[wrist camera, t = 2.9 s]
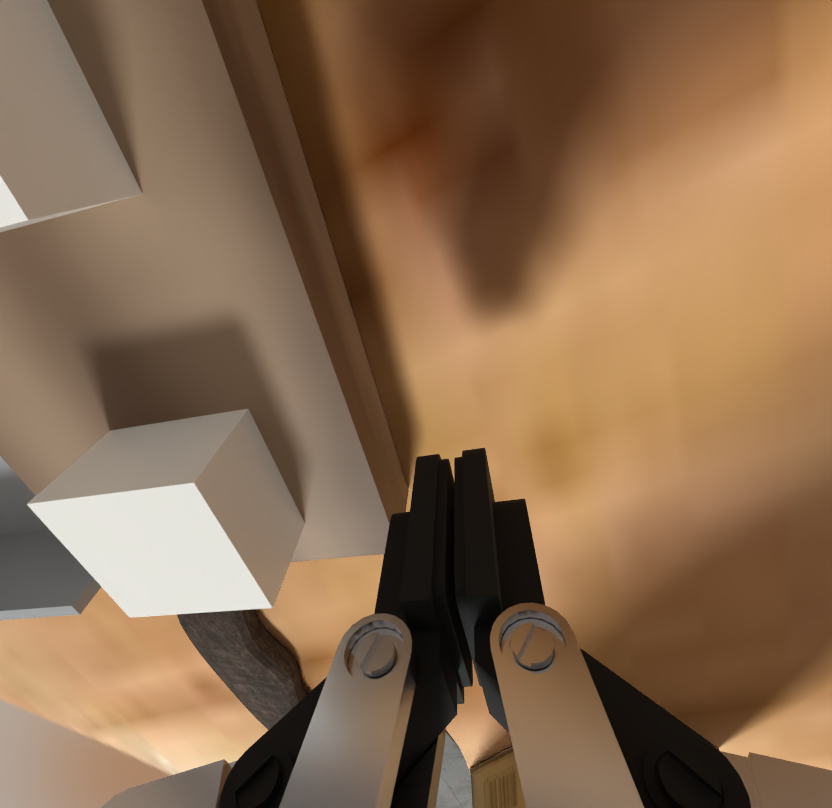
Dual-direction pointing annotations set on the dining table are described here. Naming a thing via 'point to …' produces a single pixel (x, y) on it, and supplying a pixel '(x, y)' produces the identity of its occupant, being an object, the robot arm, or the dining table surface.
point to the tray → (35, 560)
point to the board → (195, 278)
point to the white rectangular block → (50, 125)
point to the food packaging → (498, 782)
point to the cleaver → (286, 683)
